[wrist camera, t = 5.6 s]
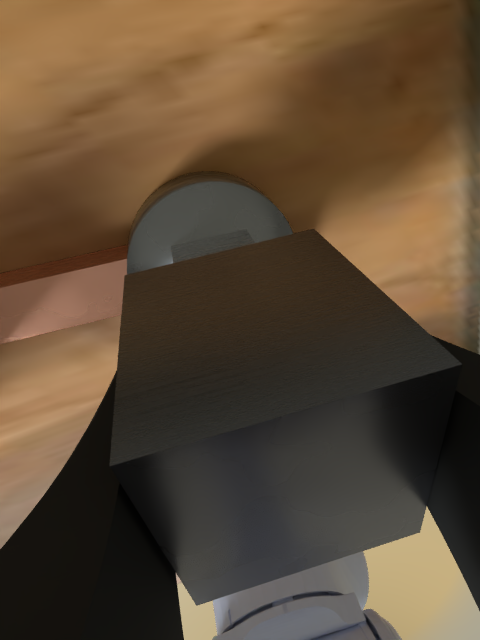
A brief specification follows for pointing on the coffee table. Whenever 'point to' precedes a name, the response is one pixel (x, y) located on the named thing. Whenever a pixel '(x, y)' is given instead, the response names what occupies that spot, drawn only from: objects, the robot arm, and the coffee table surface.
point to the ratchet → (138, 253)
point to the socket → (274, 412)
